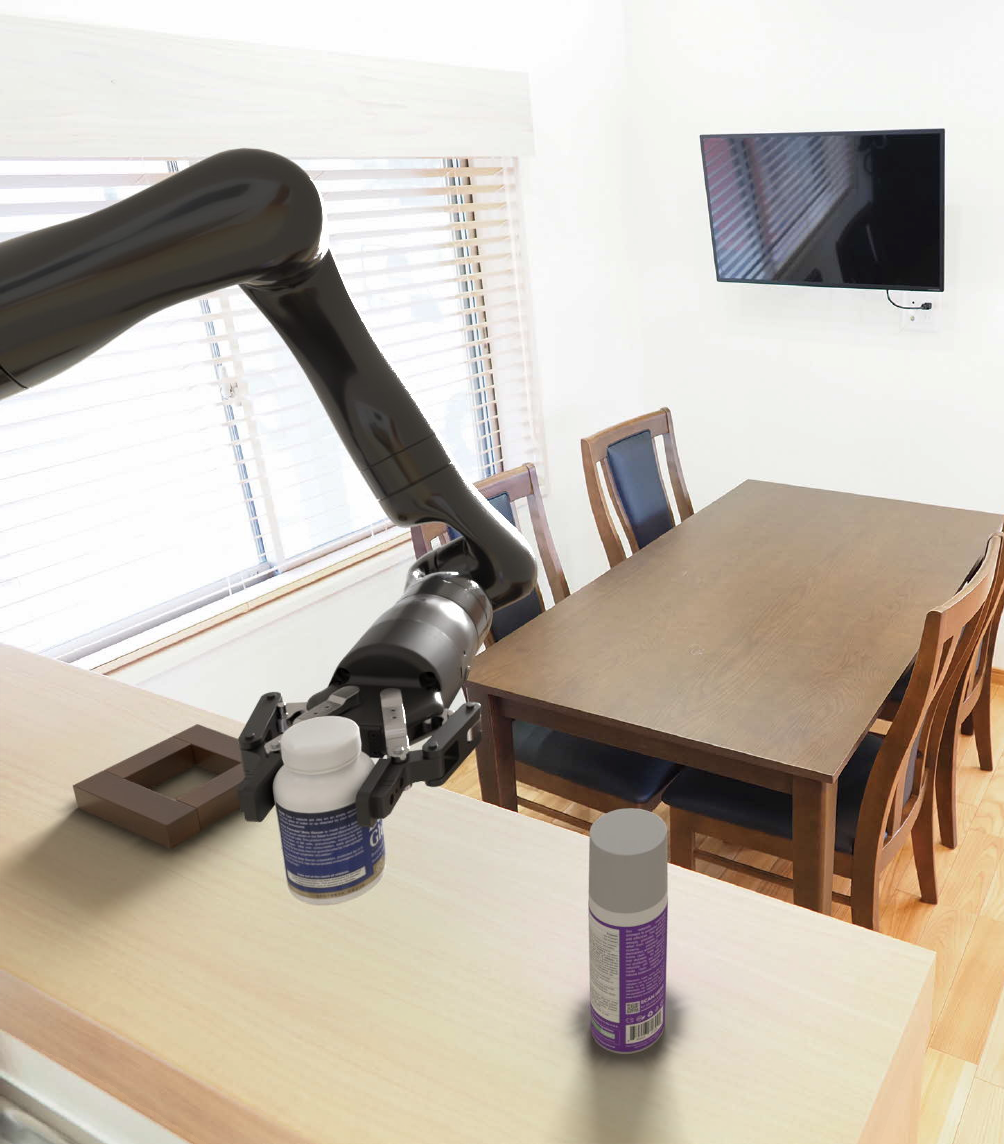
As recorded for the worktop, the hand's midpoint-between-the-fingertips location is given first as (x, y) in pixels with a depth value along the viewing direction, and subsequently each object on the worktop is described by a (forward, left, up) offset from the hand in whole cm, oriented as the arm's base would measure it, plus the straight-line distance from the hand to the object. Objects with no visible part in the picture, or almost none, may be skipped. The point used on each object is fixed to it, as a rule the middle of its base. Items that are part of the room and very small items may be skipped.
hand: (307, 810), depth 52 cm
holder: (-22, +25, -17) cm, 38 cm away
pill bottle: (0, +3, -7) cm, 7 cm away
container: (+17, +2, -18) cm, 25 cm away
